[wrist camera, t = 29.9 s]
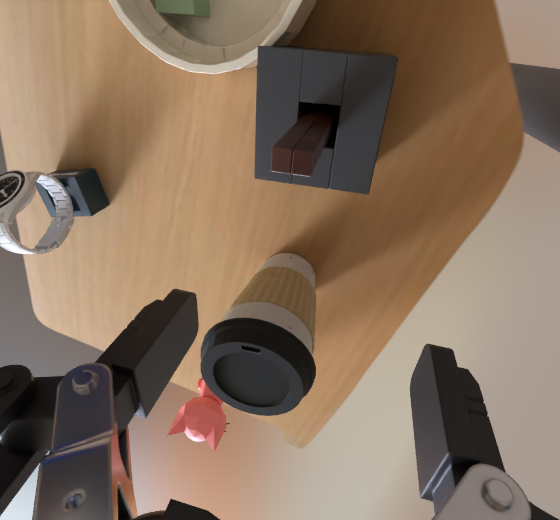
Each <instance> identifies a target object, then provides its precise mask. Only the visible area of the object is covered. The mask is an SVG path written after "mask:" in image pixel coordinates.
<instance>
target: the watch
mask: <svg viewBox="0 0 560 520" xmlns="http://www.w3.org/2000/svg"><path fill="white" fill-rule="evenodd" d="M35 186H36V187H35ZM36 188H37V190H38V192H39V194H40V196H41V198H42V200H43V202H44V204H45V206H46V208H47V210H48V212H49V214H50V216H51V217H56V219H52V221H51V224H50V226H49V228H48V230H47V232H46V233H45V234H44V236H43V237H42V238H41V239H40V241H39V244H37V245H36V246H35V247H36V248H34V249H29V248H28V247H26V246H24V245H22V244H21V243H20V242H19V241H17V240H16V239H15V237H14V236H13V235H12V233H11V232H10V231H9V227H8V224H12V223H13V221H14V219H15V217H16V215H17V214H18V213H19V212H20V211H22V210H23V209H24V208H25V207H26V206H27V205H28V204H29V203H30V202H31V200H32V199H33V197H34V195H35V191H36V190H35V189H36ZM109 205H110V204H109V202H108V200H107V197H106V195H105V192H104V190H103V187H102V185H101V182H100V180H99V177H98V175H97V172H96V170H95V168H93V169H80V170H67V171H55V172H52V173H50V174H46V173H42V172H22V171H18V170H14V171H9V172H6V173H4V174H2V175H0V246H1V247H3V248H5V249H6V250H8V251H11V252H15V253H20V254H43V253H47V252H50V251H52V250H54V249H55V248H59V246H60V245H61V244H62V243H63V241H64V240H65V239H66V237H67V236H68V234H69V232H70V230H71V227H72V225H73V222H74V219H73V217H76V216H92V215H94V214H96V213H97V212H99V211H101V210H102V209H104V208H106V207H107V206H109ZM7 223H8V224H7Z"/></svg>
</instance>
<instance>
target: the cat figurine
mask: <svg viewBox="0 0 560 520" xmlns="http://www.w3.org/2000/svg"><path fill="white" fill-rule="evenodd" d="M198 389H199V391H200V397H197V398H193V399H191V400H190V401H188V402H187V403H185V404H184V405H183V407H182V408H181V409H180V410H179V411H178V413H177V415H176V418H175V420H174V422H173V424H172V427H171V428H170V431H169V433H168V435H172V434H176V433H180V432H185V433H186V435H187V437H189V438H190V439H192V440H193V441H204V440H207V442H208V443H209V445H210V446H211V448H212V450H213V451H215V449H216V447H217V445H218V443H219V441H220V439H221V437H222V435H223V433H224V432H225V429H226V424H227V423H226V418H225V414H224V412H223V410H222V408H221V406H220V405H221V404H222V403H223V401H222V400H221V399H219V398H218V397H217V396H216V395H215V394H214V393H213V392H212V391H211V390H210V389H209V388H208V386H207V385H206V383H205V381H204V379H203V378H201V379H199V382H198ZM228 424H229V423H228Z"/></svg>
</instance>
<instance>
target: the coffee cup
mask: <svg viewBox="0 0 560 520" xmlns="http://www.w3.org/2000/svg"><path fill="white" fill-rule="evenodd" d="M315 309H316V294H315V272H314V270H313V268H312V266H311V265H310V264H309V262H307V261H306V260H305V259H304V258H302V257H300V256H298V255H296V254H292V253H279V254H276V255H274V256H272V257H271V258H269V259H268V260H267V262H266V263H265V264H264V266H263V267H262V268H261V270H260V271H259V272H258V273H257V274H255V276H254V277H253V278H252V279H251V281H250V282H249V283H248V285H247V286H246V287H245V289H244V290H243V291H242V292H241V294H240V295H239V296H238V298H237V299H236V300H235V302H234V303H233V304H232V306H231V307H230V308H229V309H228V311H227V312H226V314H225V315H224V316H223V319H222V322H220V323H218V324H216V325H214V326H213V327H212V328H211V329H209V331H208V332H207V334H206V335H205V337H204V340H203V343H202V347H201V373H202V377H203V379H204V381H205V383H206V385H207V386H208V388H209V389H210V390H211V391H212V392H213V393H214V394H215V395H216V396H217V397H218V398H219V399H221V400H222V401H223V402H225V403H227V404H228V405H230V406H232V407H234V408H236V409H239V410H241V411H244V412H247V413H251V414H256V415H266V416H271V415H279V414H283V413H286V412H288V411H290V410H292V409H294V408H295V407H296V406H297V405H298V404H299V402H300V401H301V400H302V398H303V397H304V396H306V394H307V393H308V392H309V390H310V389H311V387H312V385H313V382H314V379H315V376H316V366H315V363H314V359H313V357H312V353H313V350H314V336H315Z"/></svg>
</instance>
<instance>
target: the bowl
mask: <svg viewBox="0 0 560 520" xmlns="http://www.w3.org/2000/svg"><path fill="white" fill-rule="evenodd" d="M109 1H110V3H111V5H112V7H113V8H114V10H115V12H116V14H117V15H118V17H119V19H120V20H121V21H122V22H123V24H124V25H125V26H126V27H127V28H128V29H129V31H130V32H131V33H132V34H133V35H134V36H135V38H136V39H137V40H138V41H139V42H140V43H141V44H142V45H143V46H144V47H146V48H147V49H148V50H150V51H151V52H152V53H154V54H155V55H156V56H158V57H159V58H160V59H162V60H163V61H164V62H167V63H169V64H171V65H174V66H176V67H179V68H181V69H184V70H186V71H188V72H189V71H190V72H197V73H207V74H219V73H224V72H230V71H235V70H240V69H244V68H249V67H253V66H257V56H258V46H287V45H288V44H289V43H290V42H291V41H292V40H293V39H294V38H295V37H296V36H297V34H298V32H300V30H301V29H302V27H303V25H304V23H305V22H306V20H307V18H308V16H309V15H310V13H311V11H312V9H313V8H314V5H315V3H316V0H209V3H210V17H193V16H176V15H169V14H163V13H157V12H156V3H155V0H109Z"/></svg>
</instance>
